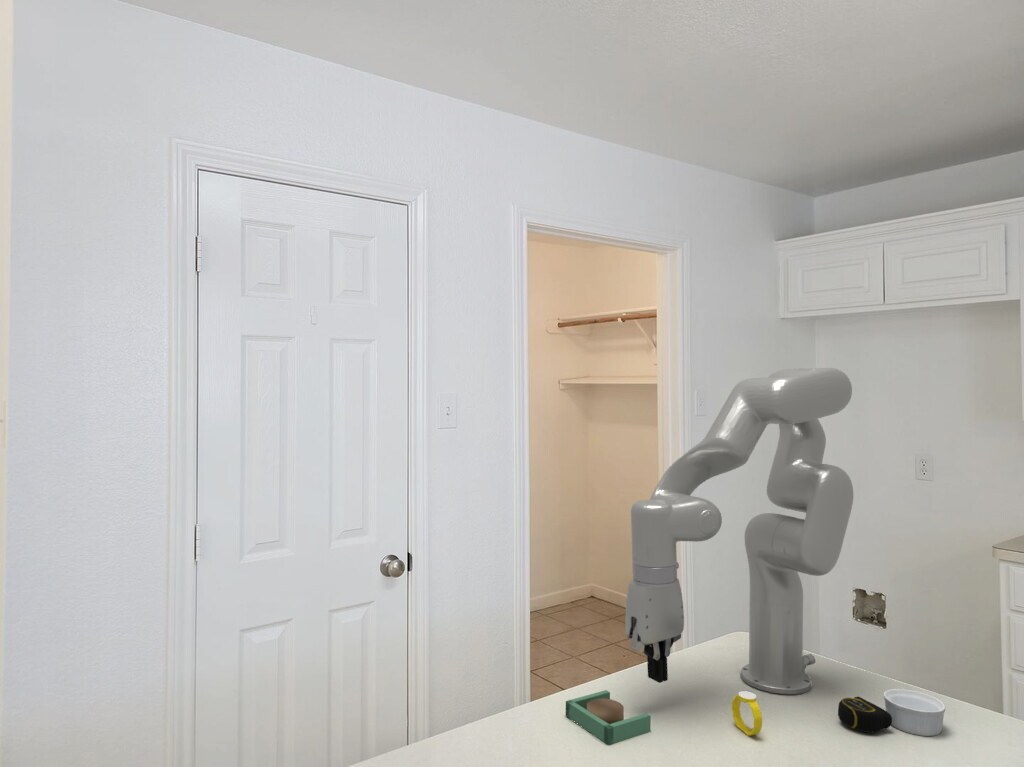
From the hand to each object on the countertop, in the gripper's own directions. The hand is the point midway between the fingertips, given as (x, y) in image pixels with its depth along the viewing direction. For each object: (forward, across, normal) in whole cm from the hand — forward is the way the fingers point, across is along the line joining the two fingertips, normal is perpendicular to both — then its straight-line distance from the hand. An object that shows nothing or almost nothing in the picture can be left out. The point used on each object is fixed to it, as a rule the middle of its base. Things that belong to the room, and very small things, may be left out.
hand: (657, 678), depth 118 cm
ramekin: (+7, -32, +26) cm, 42 cm away
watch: (+6, -6, +13) cm, 16 cm away
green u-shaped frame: (+4, +11, 0) cm, 12 cm away
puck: (+5, +12, 0) cm, 13 cm away
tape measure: (+7, -25, +22) cm, 34 cm away
